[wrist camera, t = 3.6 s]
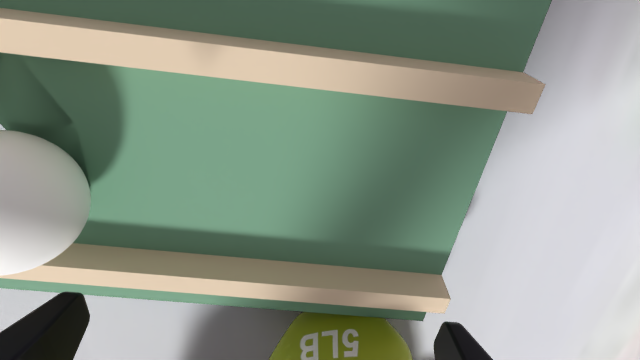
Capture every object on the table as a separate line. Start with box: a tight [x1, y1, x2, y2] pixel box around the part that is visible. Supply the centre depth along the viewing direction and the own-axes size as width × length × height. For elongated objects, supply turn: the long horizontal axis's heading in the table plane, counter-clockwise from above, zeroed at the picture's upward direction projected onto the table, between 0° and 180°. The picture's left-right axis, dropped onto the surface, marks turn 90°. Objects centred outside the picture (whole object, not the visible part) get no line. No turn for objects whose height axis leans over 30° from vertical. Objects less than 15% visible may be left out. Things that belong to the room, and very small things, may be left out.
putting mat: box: [0, 0, 552, 321], centre depth 14 cm, size 16×28×5 cm, turn 83°
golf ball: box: [0, 130, 91, 276], centre depth 13 cm, size 5×5×5 cm
